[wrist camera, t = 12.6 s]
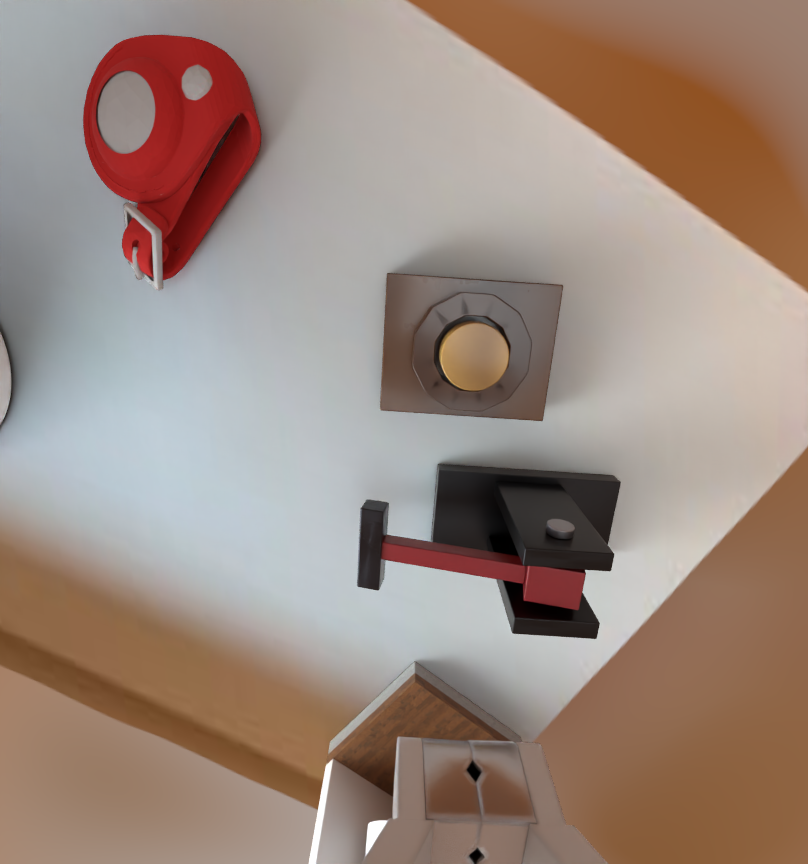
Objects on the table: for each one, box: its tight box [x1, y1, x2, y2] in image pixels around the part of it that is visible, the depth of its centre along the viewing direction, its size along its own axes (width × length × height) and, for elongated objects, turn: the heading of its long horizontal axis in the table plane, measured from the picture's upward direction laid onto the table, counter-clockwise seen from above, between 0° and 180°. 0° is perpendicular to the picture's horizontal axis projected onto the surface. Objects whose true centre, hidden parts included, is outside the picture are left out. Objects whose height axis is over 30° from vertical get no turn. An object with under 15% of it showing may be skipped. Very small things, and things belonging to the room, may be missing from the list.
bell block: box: [380, 273, 563, 421], centre depth 29 cm, size 10×8×4 cm
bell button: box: [439, 321, 509, 391], centre depth 26 cm, size 4×4×2 cm
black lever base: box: [431, 464, 621, 639], centre depth 29 cm, size 12×6×10 cm, turn 86°
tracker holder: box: [83, 35, 261, 290], centre depth 26 cm, size 12×4×10 cm
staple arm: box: [357, 500, 586, 610], centre depth 27 cm, size 12×5×2 cm, turn 86°
